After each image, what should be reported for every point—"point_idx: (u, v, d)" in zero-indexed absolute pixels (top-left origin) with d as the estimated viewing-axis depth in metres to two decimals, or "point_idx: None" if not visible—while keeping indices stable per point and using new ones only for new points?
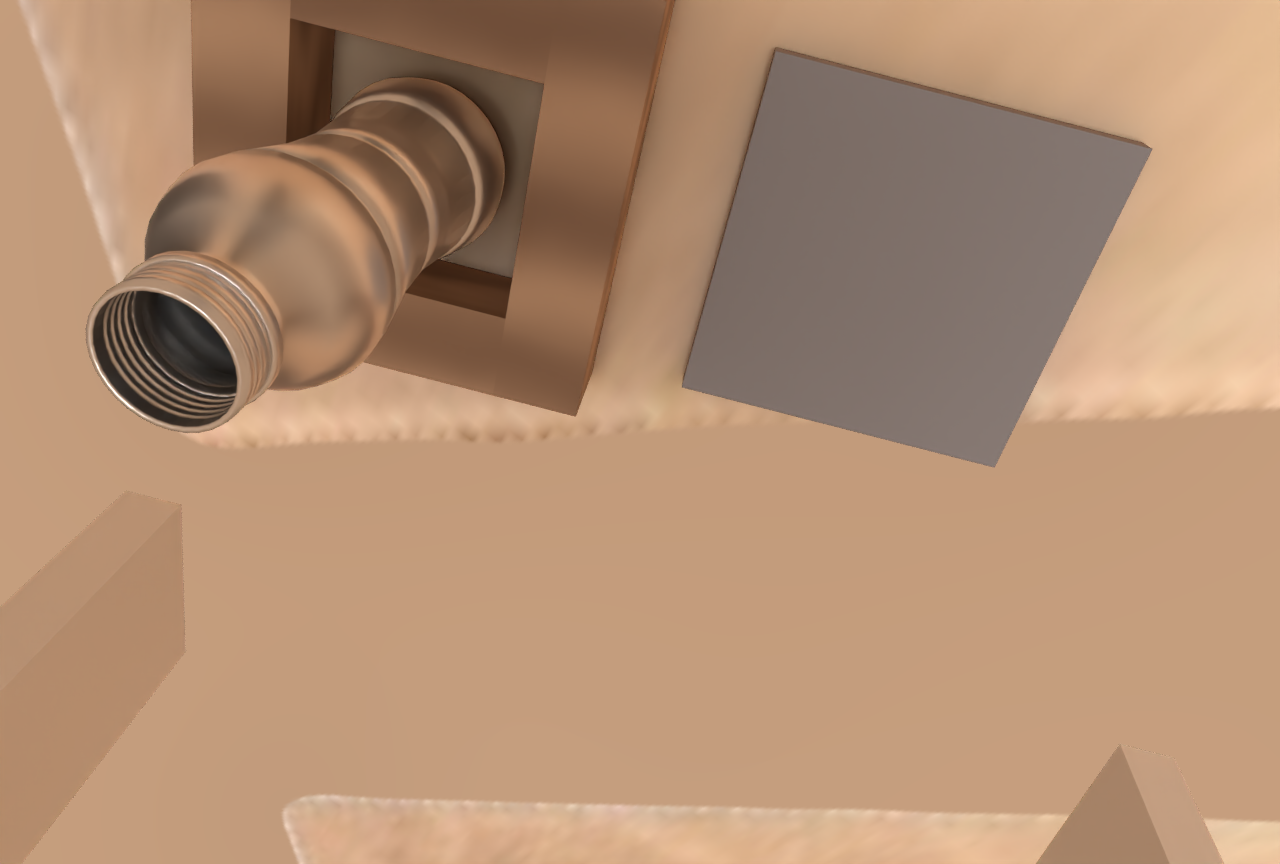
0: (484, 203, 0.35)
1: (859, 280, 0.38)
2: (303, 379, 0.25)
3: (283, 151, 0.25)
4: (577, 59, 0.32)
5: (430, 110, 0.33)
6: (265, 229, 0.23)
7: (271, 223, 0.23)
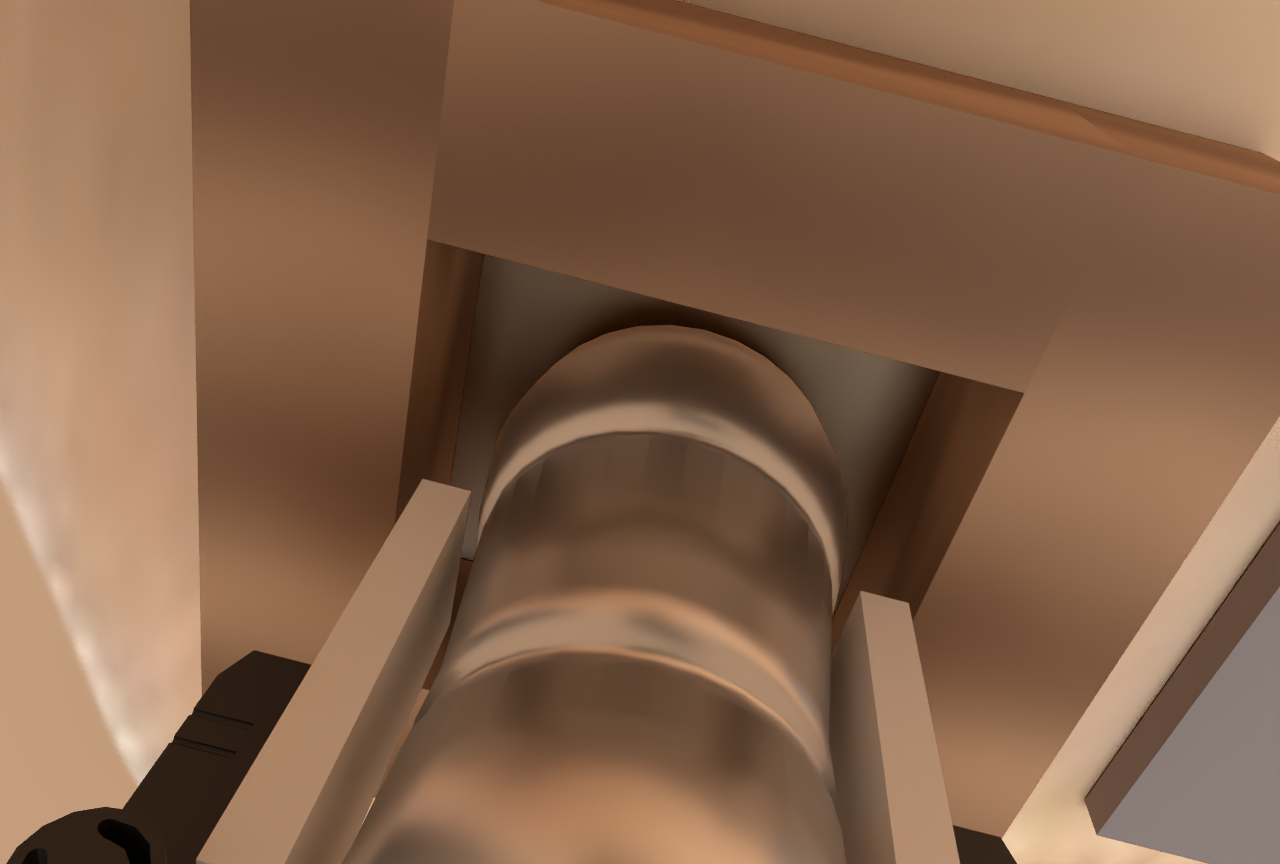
0: None
1: None
2: None
3: None
4: (1122, 345, 0.13)
5: (752, 450, 0.14)
6: None
7: None
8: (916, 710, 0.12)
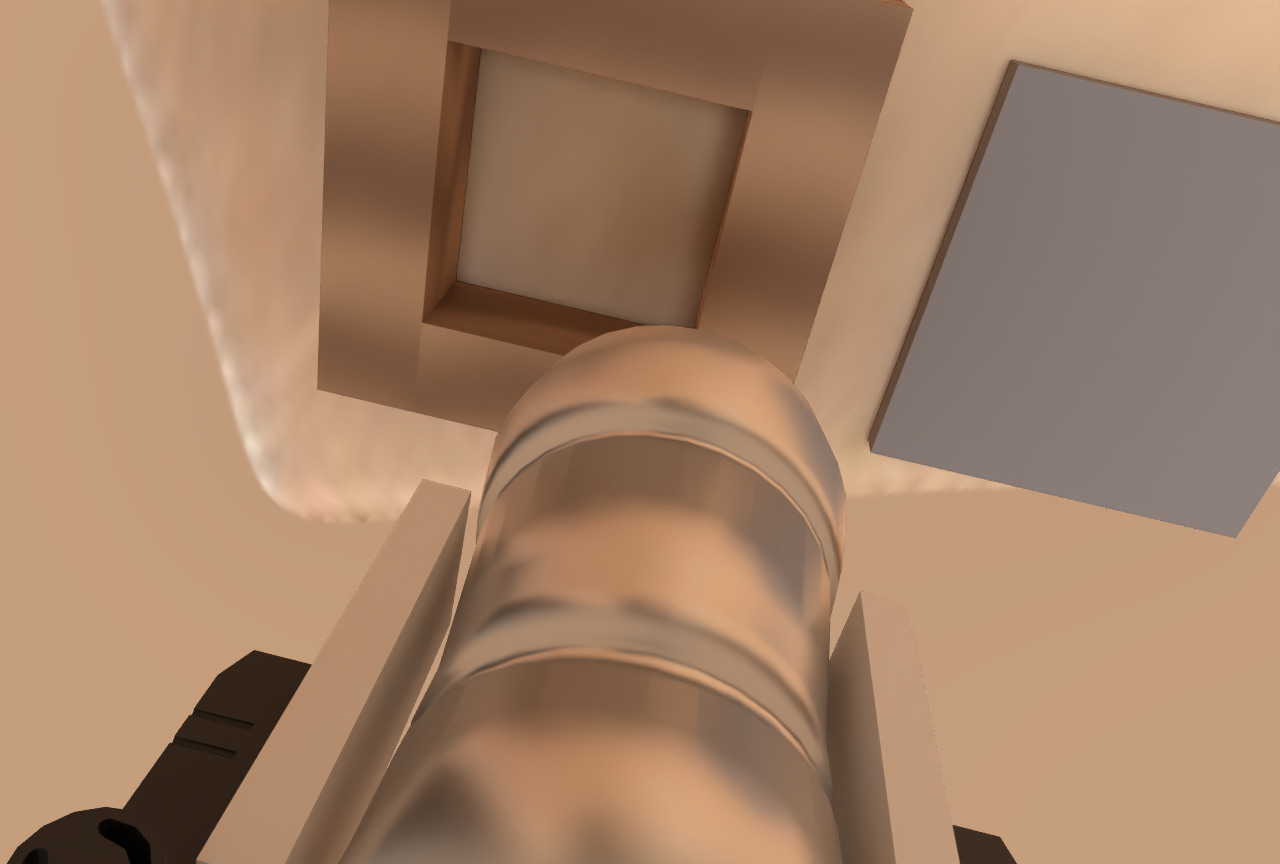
0: None
1: (1094, 328, 0.32)
2: None
3: None
4: (795, 81, 0.27)
5: (749, 451, 0.14)
6: None
7: None
8: (916, 710, 0.12)
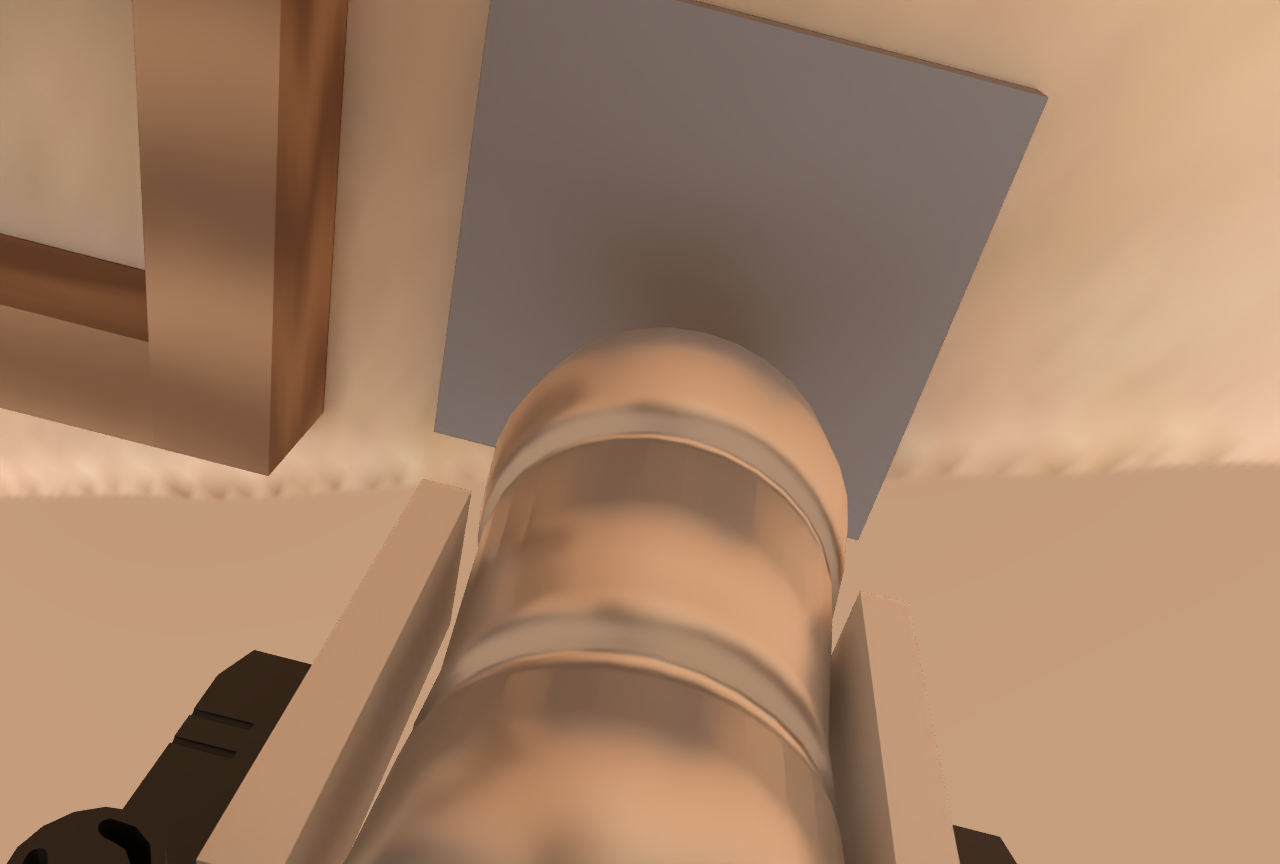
0: None
1: (651, 287, 0.27)
2: None
3: None
4: None
5: (751, 454, 0.14)
6: None
7: None
8: (916, 710, 0.12)
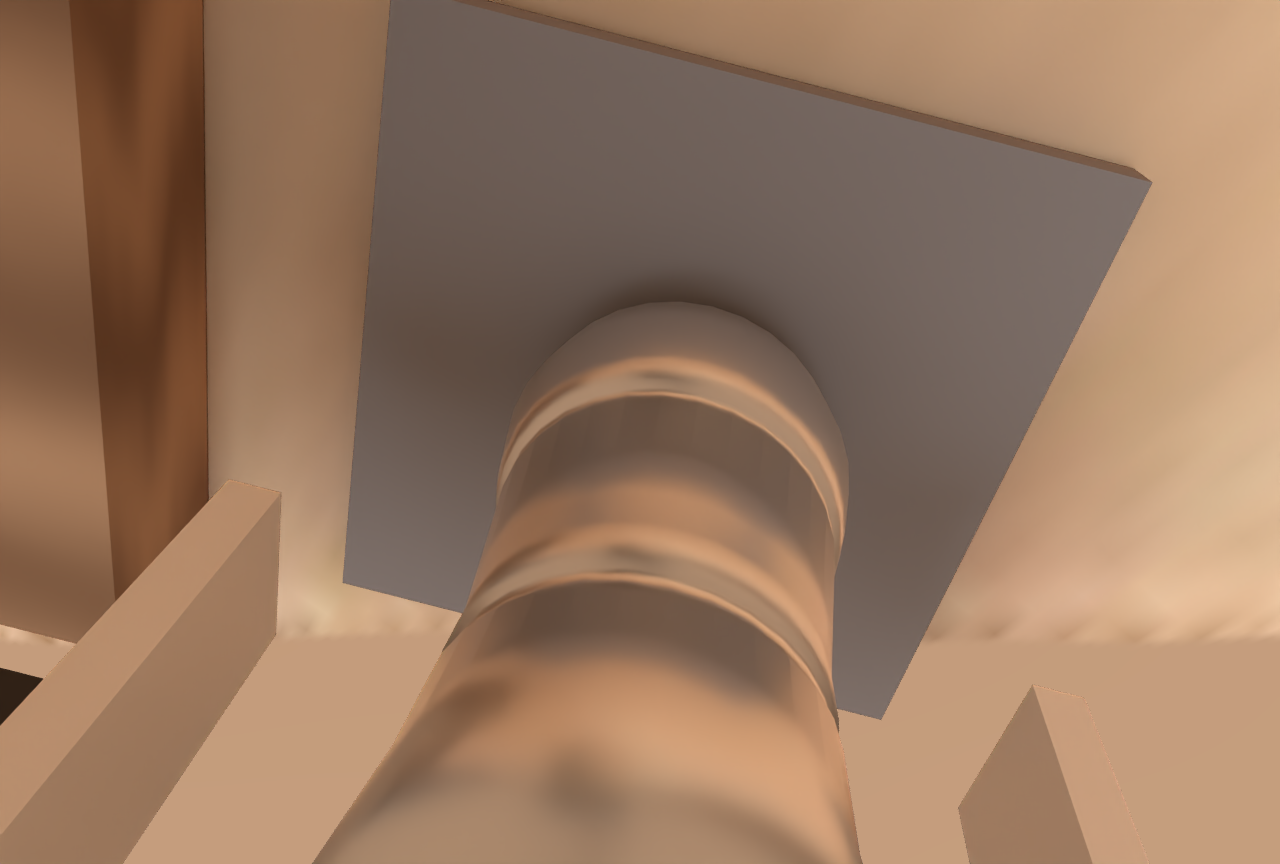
0: None
1: None
2: None
3: None
4: None
5: (758, 412, 0.15)
6: None
7: None
8: (1122, 830, 0.11)
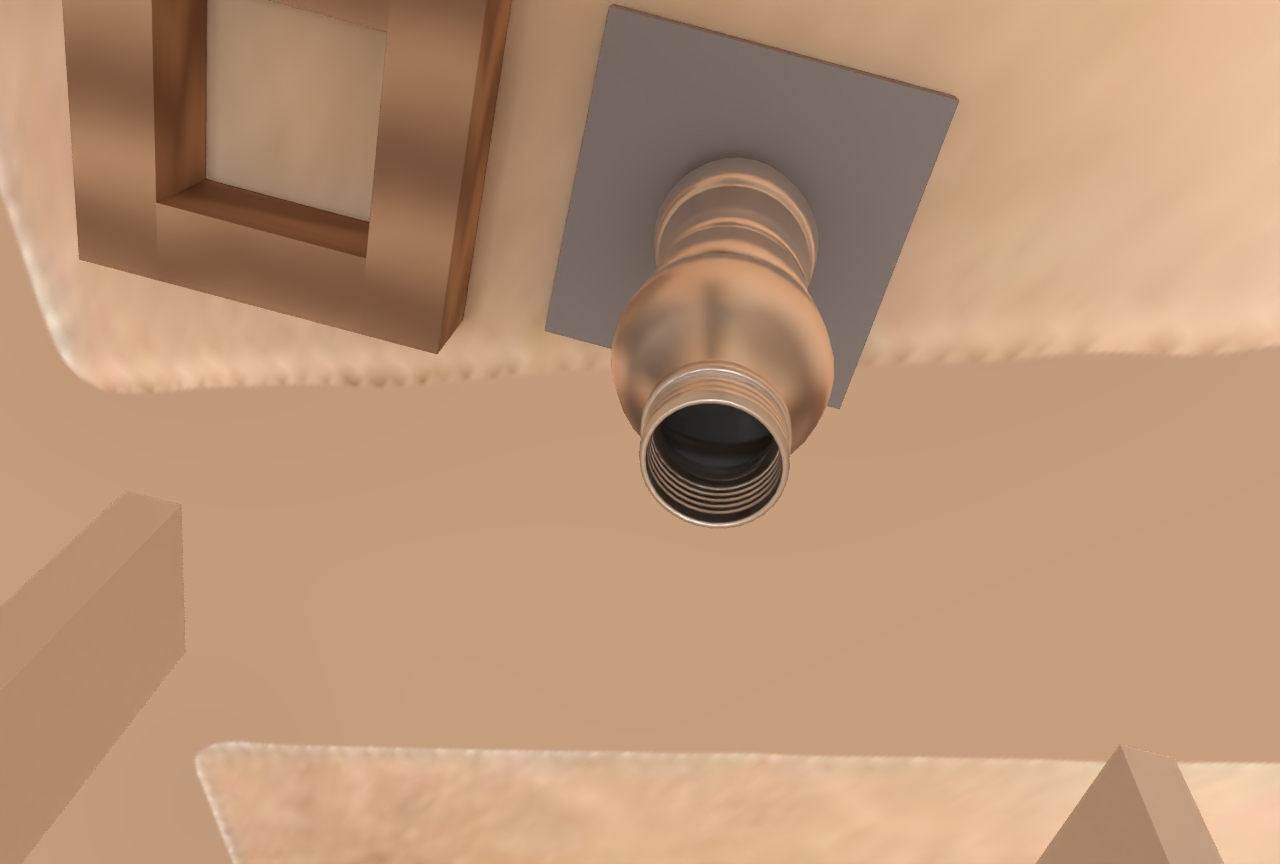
0: (810, 279, 0.37)
1: None
2: None
3: (741, 254, 0.27)
4: (415, 8, 0.35)
5: (776, 194, 0.35)
6: (768, 335, 0.25)
7: (768, 329, 0.25)
8: None
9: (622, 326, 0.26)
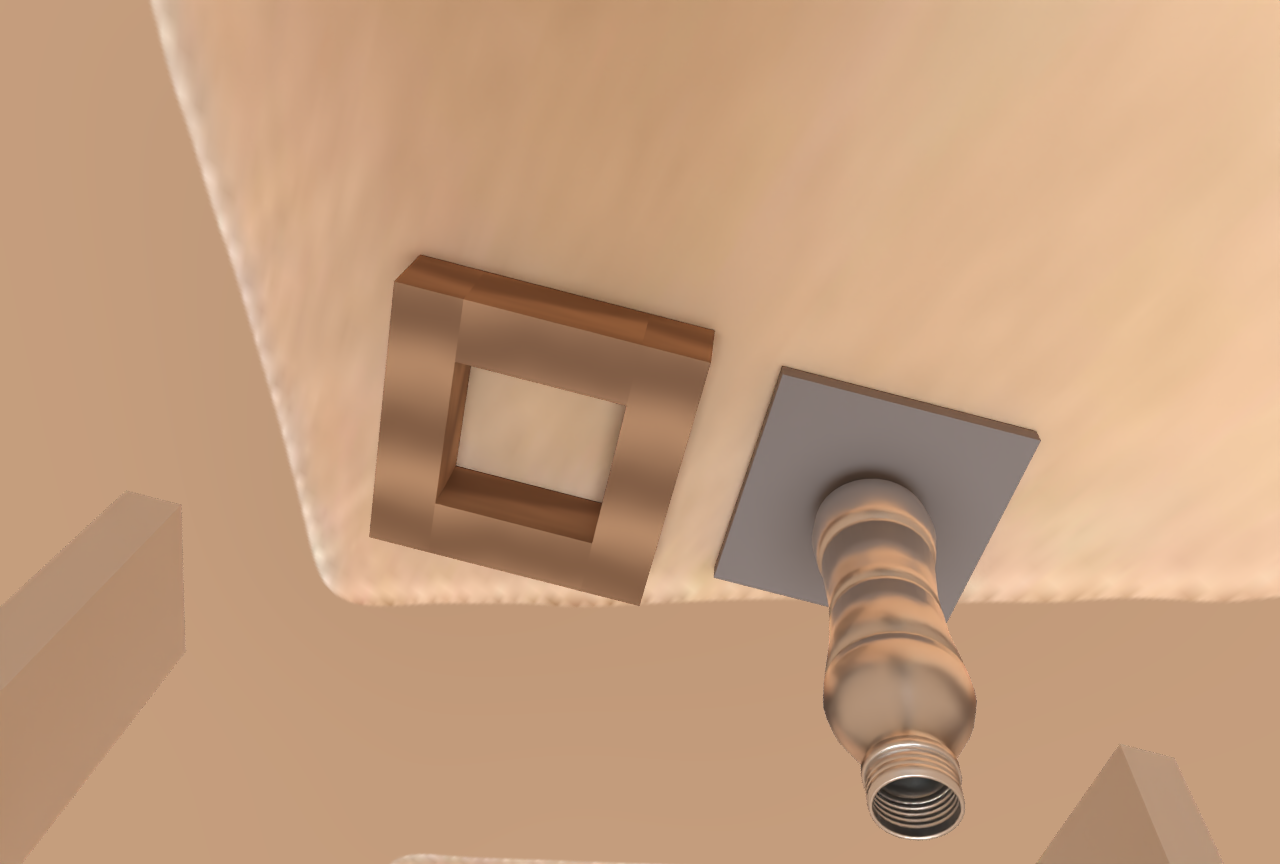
0: None
1: None
2: None
3: (914, 630, 0.40)
4: (649, 392, 0.48)
5: (911, 524, 0.48)
6: (941, 707, 0.38)
7: (941, 700, 0.38)
8: None
9: (836, 682, 0.40)
